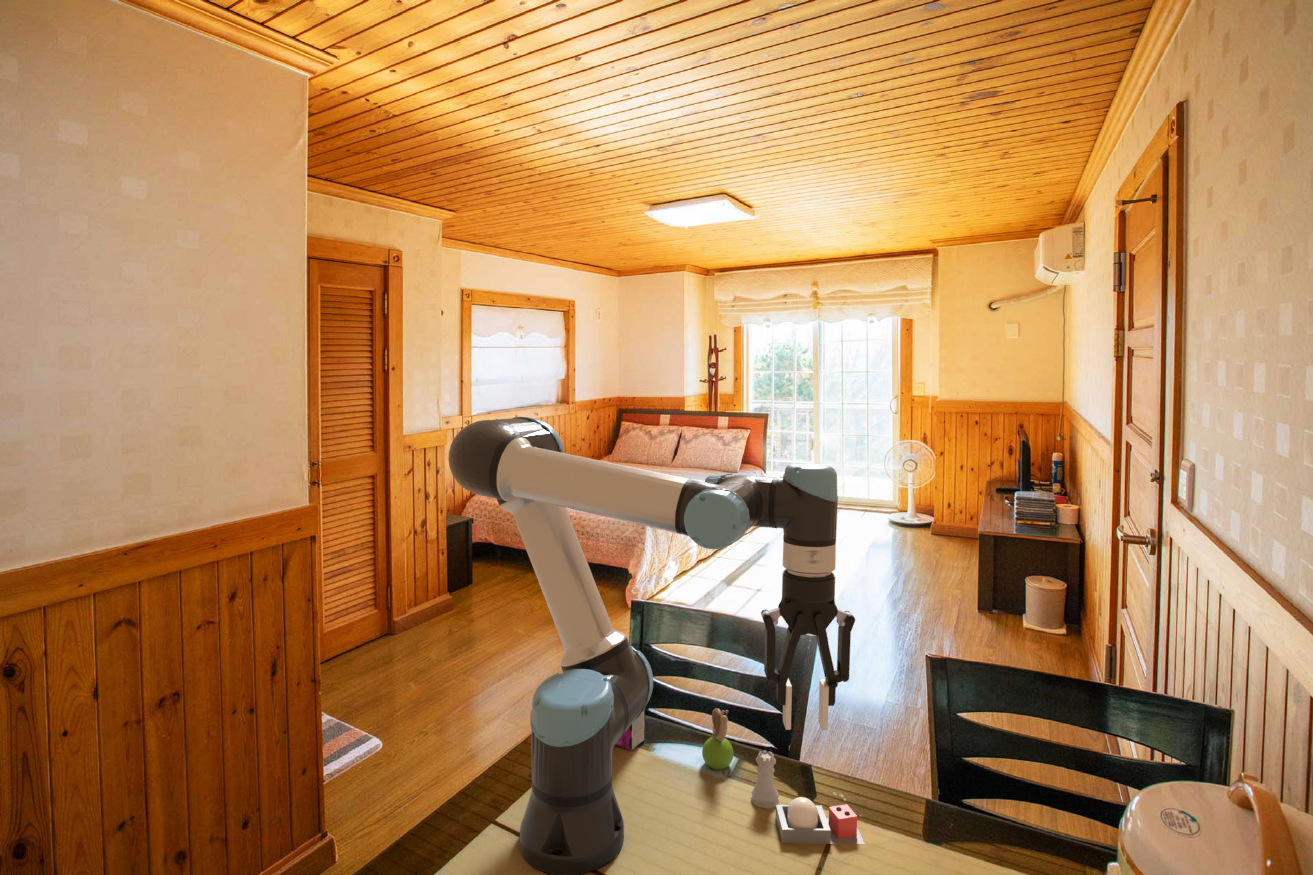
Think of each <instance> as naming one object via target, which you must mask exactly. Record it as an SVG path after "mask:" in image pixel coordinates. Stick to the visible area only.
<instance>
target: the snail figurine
mask: <svg viewBox="0 0 1313 875" xmlns="http://www.w3.org/2000/svg"><path fill="white" fill-rule="evenodd" d="M724 714H725V715H724ZM726 714H729V710H728V709H726V710H724V709H722V710H721V709H720V708H717V707H716V708H714V709H712V714H711V720H712V733H713V736H710V737H709V738H708V739H707V740H706V741H705V742H704V743H703V747H702V748H701V749H702V751H701V752H702V753H701V754H702V759H703V761H704V763H705V764H706V765H707V767H709V768H710V769H712V770H715V771H721V770H722V771H723V770H724V769H726V768H728V767H729V766H730V765H731V764H732V761H733V758H734V749H733V746H732V743H730V742H731V741H730V740H728V739H727V737H726V736H727V732H728V731H727V730H728V721H729V719H728V715H726Z"/></svg>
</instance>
